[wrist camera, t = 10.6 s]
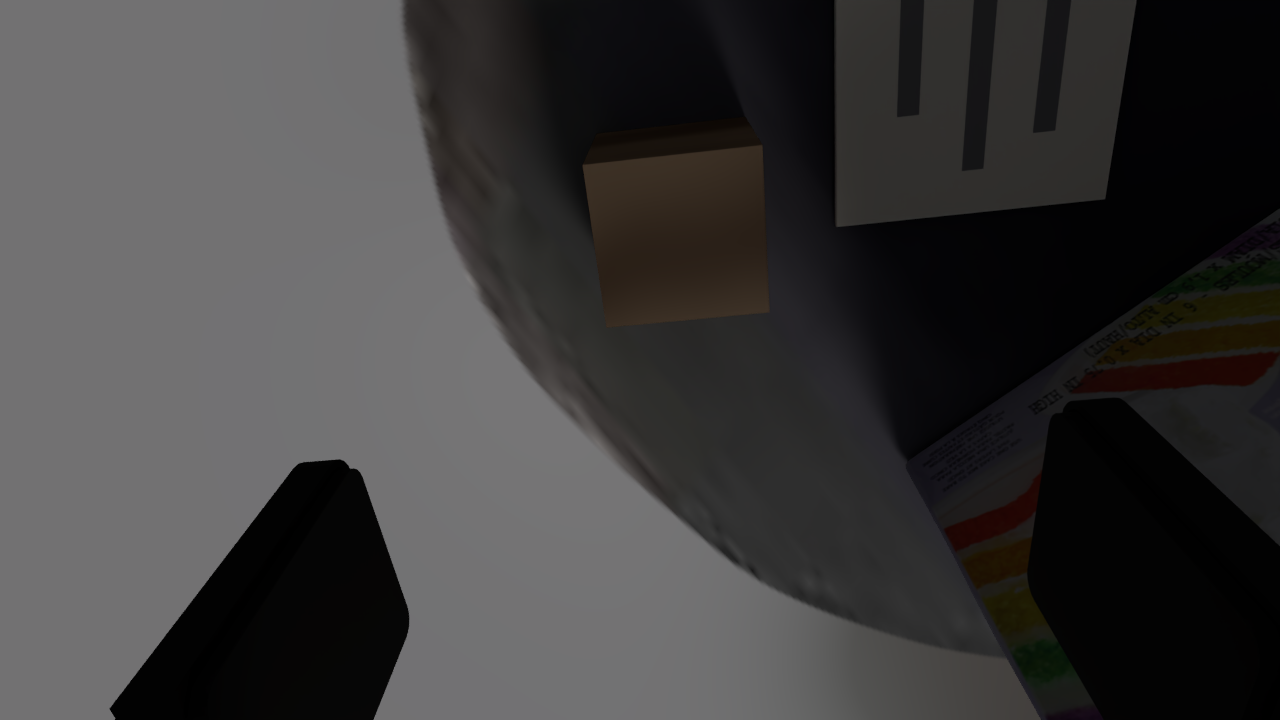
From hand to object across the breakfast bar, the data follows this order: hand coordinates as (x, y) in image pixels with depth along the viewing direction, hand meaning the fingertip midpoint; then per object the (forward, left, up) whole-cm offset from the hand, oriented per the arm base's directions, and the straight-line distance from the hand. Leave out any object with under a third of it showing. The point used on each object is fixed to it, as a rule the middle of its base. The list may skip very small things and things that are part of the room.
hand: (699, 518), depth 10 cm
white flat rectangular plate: (-4, +10, -18) cm, 21 cm away
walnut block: (0, 0, -18) cm, 18 cm away
